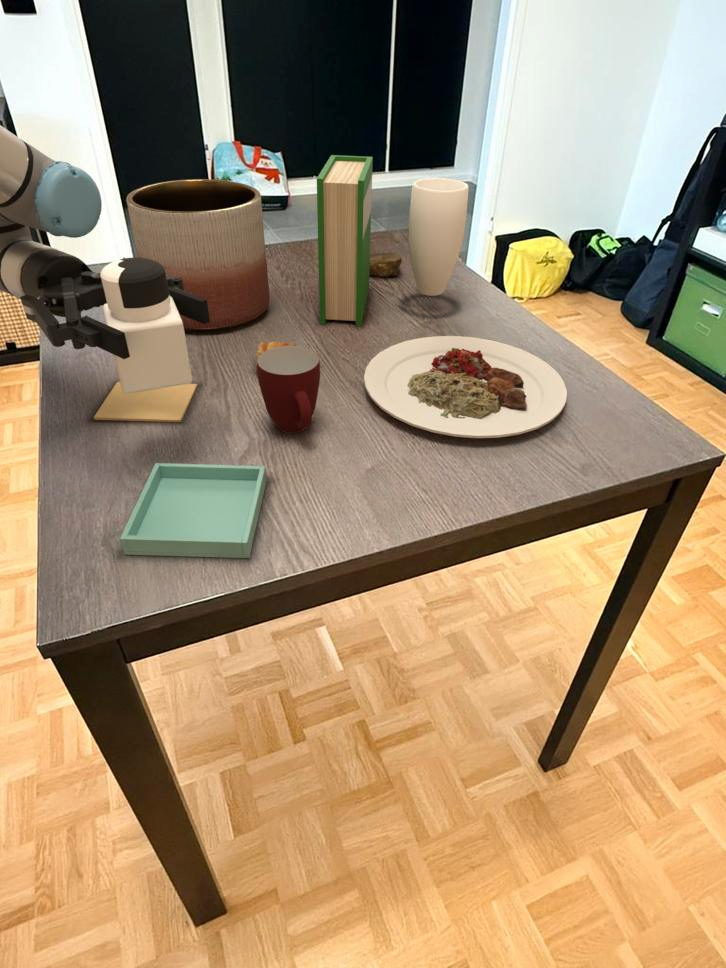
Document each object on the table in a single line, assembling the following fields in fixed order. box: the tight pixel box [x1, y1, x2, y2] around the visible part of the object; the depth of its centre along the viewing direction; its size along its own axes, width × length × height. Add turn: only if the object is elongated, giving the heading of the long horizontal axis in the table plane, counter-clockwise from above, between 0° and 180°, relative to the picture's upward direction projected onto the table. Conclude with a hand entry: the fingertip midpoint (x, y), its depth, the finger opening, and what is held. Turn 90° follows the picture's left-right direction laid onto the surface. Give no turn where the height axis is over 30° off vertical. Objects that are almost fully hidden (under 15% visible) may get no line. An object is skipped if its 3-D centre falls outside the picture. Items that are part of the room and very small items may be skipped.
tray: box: [119, 462, 268, 559], centre depth 70 cm, size 13×13×2 cm
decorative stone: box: [369, 252, 403, 279], centre depth 133 cm, size 10×9×4 cm
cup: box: [408, 177, 469, 297], centre depth 112 cm, size 10×10×22 cm
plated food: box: [363, 335, 568, 439], centre depth 93 cm, size 30×30×3 cm
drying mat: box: [93, 381, 198, 423], centre depth 89 cm, size 12×10×1 cm
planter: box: [126, 178, 270, 332], centre depth 109 cm, size 22×22×20 cm
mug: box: [256, 345, 321, 434], centre depth 82 cm, size 11×8×10 cm
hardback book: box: [316, 154, 374, 327], centre depth 111 cm, size 18×7×24 cm, turn 175°
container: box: [99, 256, 193, 394], centre depth 69 cm, size 8×8×13 cm
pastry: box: [255, 340, 297, 369], centre depth 97 cm, size 9×7×4 cm
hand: (167, 328), depth 67 cm, fingers closed on container, 10 cm apart
